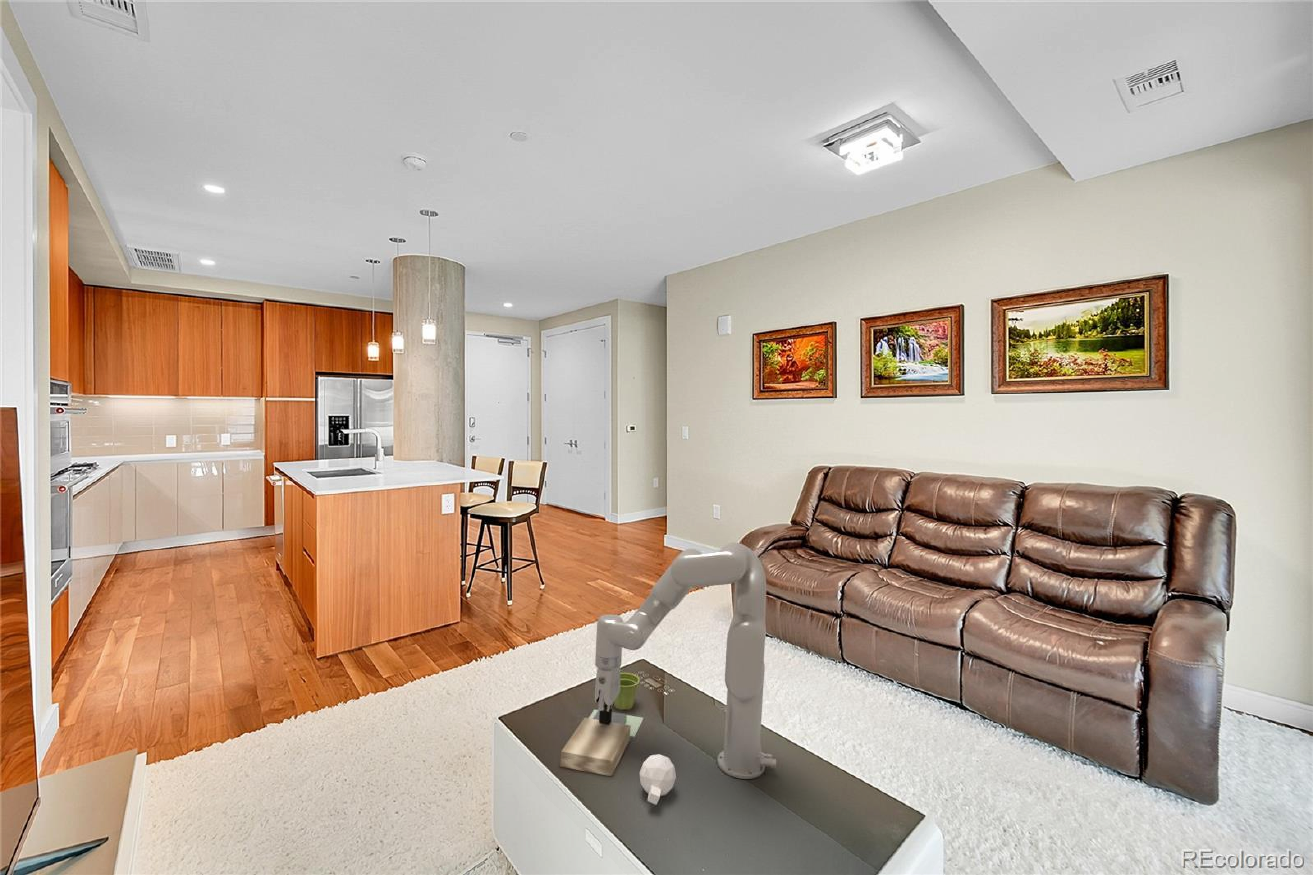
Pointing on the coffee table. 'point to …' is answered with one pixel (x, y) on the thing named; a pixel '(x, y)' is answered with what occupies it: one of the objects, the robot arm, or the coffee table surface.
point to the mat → (627, 722)
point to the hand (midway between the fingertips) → (605, 722)
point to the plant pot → (626, 691)
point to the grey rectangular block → (614, 717)
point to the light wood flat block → (596, 747)
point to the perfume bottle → (657, 776)
